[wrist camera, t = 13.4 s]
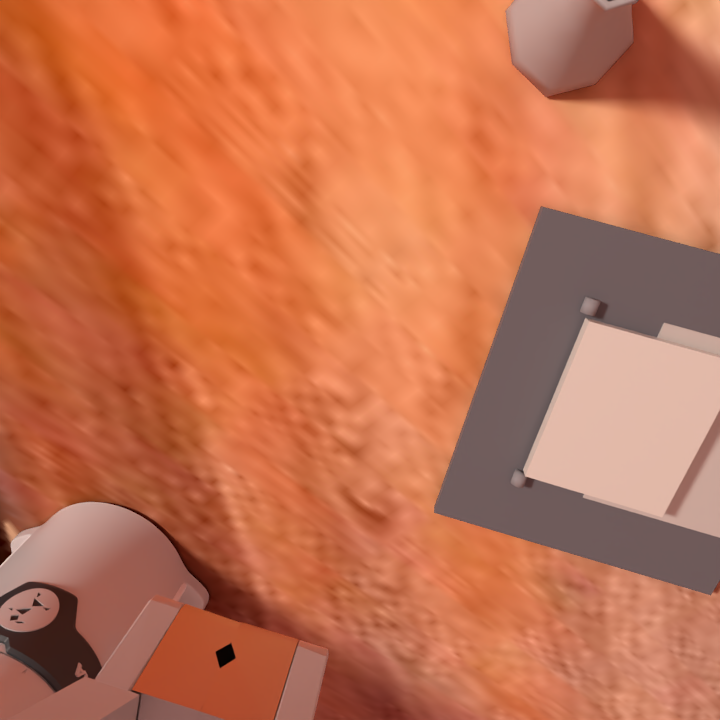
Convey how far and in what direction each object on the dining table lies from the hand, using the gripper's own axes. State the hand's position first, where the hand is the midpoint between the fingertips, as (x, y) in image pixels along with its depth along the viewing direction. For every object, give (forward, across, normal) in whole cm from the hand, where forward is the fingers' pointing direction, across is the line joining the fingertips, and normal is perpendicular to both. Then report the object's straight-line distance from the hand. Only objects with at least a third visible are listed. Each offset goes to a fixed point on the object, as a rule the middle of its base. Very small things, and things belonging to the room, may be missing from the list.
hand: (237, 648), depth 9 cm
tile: (+30, +13, -4) cm, 33 cm away
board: (+31, +19, -4) cm, 37 cm away
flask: (+31, +6, +18) cm, 37 cm away
